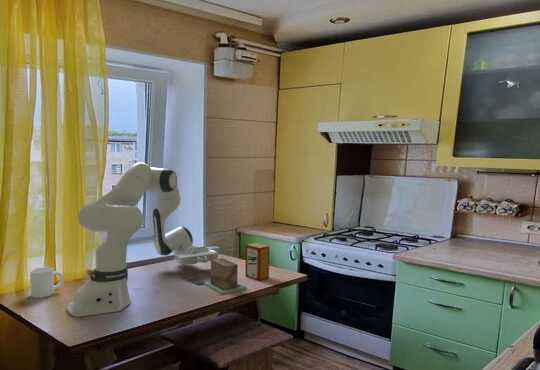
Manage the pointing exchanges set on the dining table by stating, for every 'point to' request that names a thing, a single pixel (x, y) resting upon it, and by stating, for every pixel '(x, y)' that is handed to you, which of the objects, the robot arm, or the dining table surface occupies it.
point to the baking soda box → (257, 261)
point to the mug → (43, 282)
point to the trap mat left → (197, 281)
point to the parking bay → (240, 287)
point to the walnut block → (224, 274)
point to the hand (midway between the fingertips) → (205, 260)
